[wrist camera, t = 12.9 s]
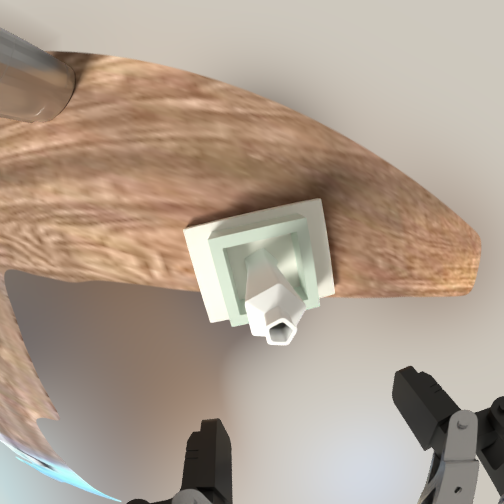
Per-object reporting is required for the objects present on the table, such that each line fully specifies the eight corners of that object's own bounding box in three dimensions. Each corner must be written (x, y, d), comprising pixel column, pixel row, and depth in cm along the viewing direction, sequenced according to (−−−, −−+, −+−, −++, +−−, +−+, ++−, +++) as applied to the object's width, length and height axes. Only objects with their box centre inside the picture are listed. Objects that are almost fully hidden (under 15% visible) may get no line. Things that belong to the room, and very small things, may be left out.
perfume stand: (211, 317, 34) (207, 339, 29) (185, 227, 31) (175, 236, 26) (331, 289, 34) (346, 307, 29) (317, 198, 31) (332, 201, 26)
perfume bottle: (249, 239, 31) (262, 289, 16) (284, 254, 31) (323, 313, 17) (233, 274, 32) (232, 348, 17) (267, 288, 32) (290, 366, 18)
